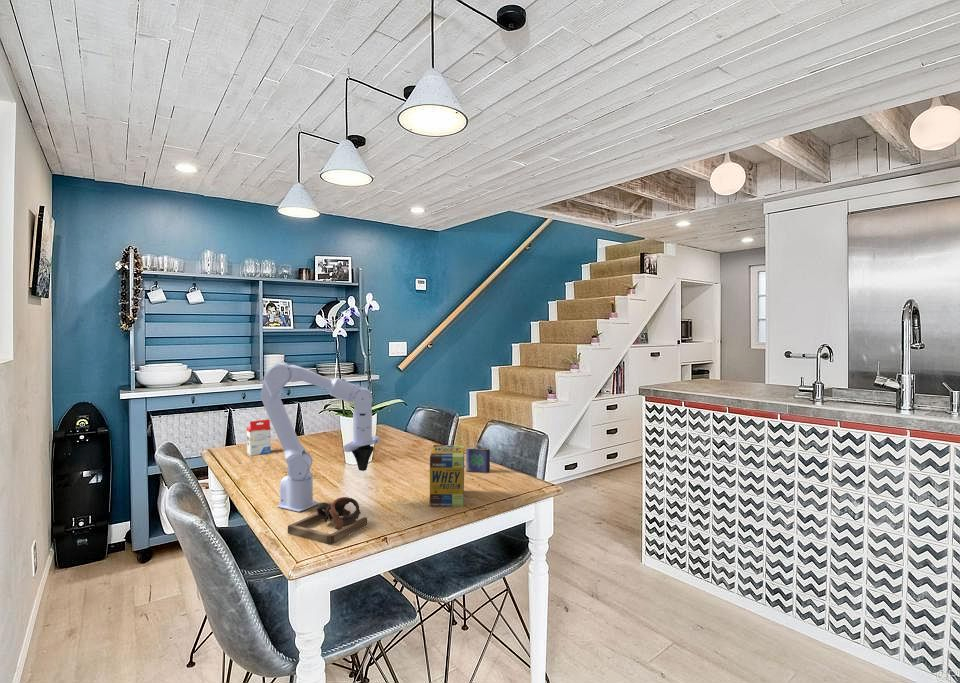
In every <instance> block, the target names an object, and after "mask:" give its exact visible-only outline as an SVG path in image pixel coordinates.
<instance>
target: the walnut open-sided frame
mask: <svg viewBox="0 0 960 683" xmlns="http://www.w3.org/2000/svg"><path fill="white" fill-rule="evenodd" d="M323 511H324V510H323ZM324 512H325V511H324ZM323 520H324V518H322V517H321V516H319V514H318V513H317V512H316V513H313V514H312V515H310V516H307V517H305V518H302V519H301V520H298V521H296V522H294V523H291V524H288V525H287V534H289V535H293V536H295V537H300V538H304V539H307V540H311V541H316V542H317V543H322V544H327V545H333V544H335V543H337V542H339V541H340V539H341V540H343V539H344V538H346V537H348V536H350V535H352V534H353V532H354V533H356V532H358V531H359V530H361V529H363V528H365V527H366V525H367V526H368V517H362V518H360V519H357V520H356V521H355V522H353V523H352V524H350V525H348V526H345V527H342V529H340V530H336V531H334V532H332V533H328V532H325V531H324V532H323V531H319V530H315V529H310V528H308V527H310V526H312V525H314V524H316V523H318V522H321V521H323ZM364 526H365V527H364ZM362 527H363V528H362ZM360 528H361V529H360ZM358 529H359V530H358ZM355 531H356V532H355ZM351 533H352V534H351ZM349 534H350V535H349ZM342 538H343V539H342Z"/></svg>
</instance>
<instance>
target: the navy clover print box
mask: <svg viewBox="0 0 960 683" xmlns="http://www.w3.org/2000/svg"><path fill="white" fill-rule="evenodd" d="M490 450H491V449H490V448H488V447H486V446H481V445H480V442H479V443H476V444H475V447H466V448H465V472H468V473H483V474H484V473H485V474H489V473H490V471H491V469H490V468H491V459H490V458H491V451H490Z"/></svg>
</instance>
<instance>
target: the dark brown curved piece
mask: <svg viewBox="0 0 960 683" xmlns="http://www.w3.org/2000/svg"><path fill="white" fill-rule="evenodd" d="M350 503H351V504H353V506H355V511H353V513H351V511H350V510H348V509H345V508H346V505H348V504H350ZM315 510H316V513H318V514H319V516H321V517H322V518H324V519H323V520H324V522H325V523H327V522H328V521H330V522H331V521H332V520H334V521H335V522H336V523H335V525H334V529H335V530H336V531H338V530H340V529H342V528H344V527H346V526H348V525H350V524H352V523H354V522H356V521H357V520H359V519H358V518H359V517H360V515H361V510H360V505H359V502H358V501H357V500H356V499H354V498H352V497H349V496H342V497H337V498H336V499H335V500H334V501H333V502H332V503H328V502H319V504H318V505H317V506H316V508H315ZM323 510H324V511H325V512H324V511H323Z"/></svg>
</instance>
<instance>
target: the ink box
mask: <svg viewBox="0 0 960 683" xmlns="http://www.w3.org/2000/svg"><path fill="white" fill-rule="evenodd" d="M270 422H271V420H270V418H269V419H260V420H259V419H258V420H250V421H249V426H247V427H246V453H247V455H249V456H250V457H251V456H257V455H258V456H259V455H264V454H265V455H266V454H271V452H272V451H271V450H272V449H271V445H272V444H271V423H270ZM259 423H260V424H259Z"/></svg>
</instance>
